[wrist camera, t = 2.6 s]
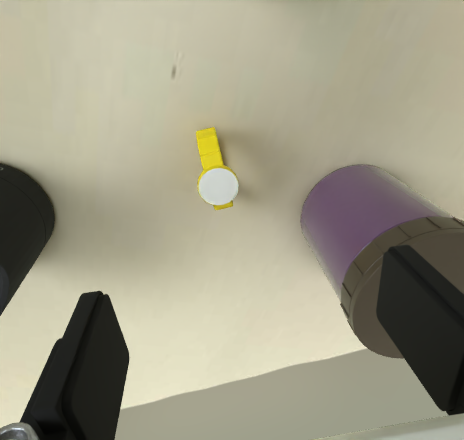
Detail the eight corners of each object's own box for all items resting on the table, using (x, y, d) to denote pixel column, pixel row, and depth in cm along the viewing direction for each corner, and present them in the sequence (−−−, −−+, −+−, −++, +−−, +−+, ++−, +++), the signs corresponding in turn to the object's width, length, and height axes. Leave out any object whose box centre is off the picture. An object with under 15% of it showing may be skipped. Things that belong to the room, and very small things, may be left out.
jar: (408, 157, 29) (522, 219, 19) (394, 249, 34) (480, 338, 24) (299, 171, 29) (357, 242, 19) (300, 262, 34) (346, 359, 23)
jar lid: (505, 204, 20) (535, 220, 18) (467, 326, 25) (488, 347, 23) (344, 227, 20) (358, 245, 18) (336, 346, 25) (347, 369, 23)
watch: (186, 126, 26) (185, 147, 21) (221, 117, 26) (228, 136, 21) (205, 194, 29) (208, 228, 24) (237, 187, 29) (246, 219, 24)
